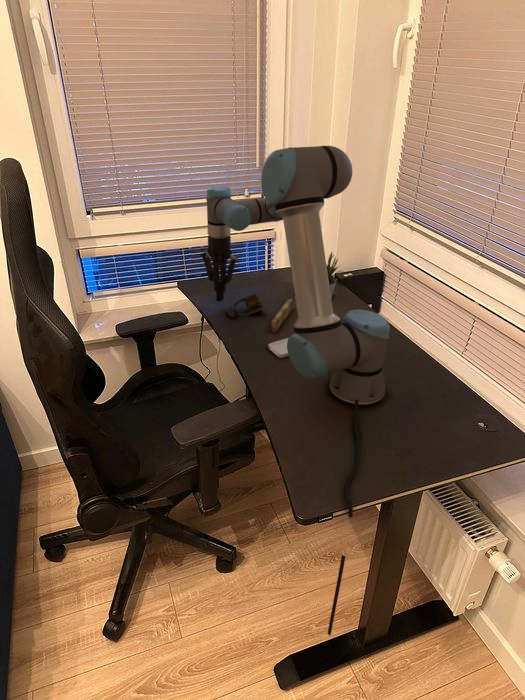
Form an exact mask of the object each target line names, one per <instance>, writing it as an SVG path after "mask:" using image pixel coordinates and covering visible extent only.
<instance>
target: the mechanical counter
mask: <svg viewBox="0 0 525 700" xmlns="http://www.w3.org/2000/svg"><path fill="white" fill-rule="evenodd" d="M241 302H244V303H245V306H246V308H247V311H248V312H246V313H243V312H242V313H241V312H238V310H236V307H237V305H238V304H240V303H241ZM226 312H227V315H228V316H229V317H231V318H235V317H236V315H237V316H239V317H246V316H251V315H254V314H256V313H259V312H261V314H262V315H264V314H265V313H264V304H263V301H262V298H261V296H260V295H259V294H258V293H257V292H255V293H252V294H249V295H247V296H245V297H243V298H240V299H239V300H237V301H236V302H235V303H234V305H233V307H231V306H228V307H227V309H226Z"/></svg>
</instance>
